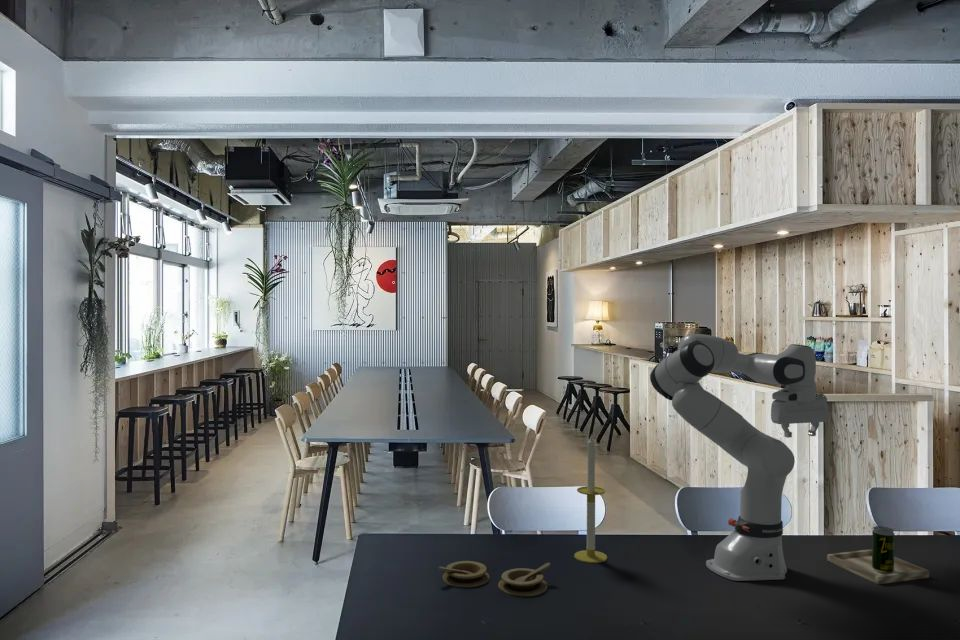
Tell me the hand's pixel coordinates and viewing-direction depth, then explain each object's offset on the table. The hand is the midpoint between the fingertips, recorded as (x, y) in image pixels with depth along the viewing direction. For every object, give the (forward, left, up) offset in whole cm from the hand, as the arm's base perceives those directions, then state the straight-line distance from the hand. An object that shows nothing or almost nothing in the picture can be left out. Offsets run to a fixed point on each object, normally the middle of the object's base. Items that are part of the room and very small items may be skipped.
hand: (800, 436), depth 218 cm
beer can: (+3, -29, -34) cm, 45 cm away
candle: (-72, +5, -34) cm, 80 cm away
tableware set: (-106, -5, -35) cm, 112 cm away
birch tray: (+4, -26, -34) cm, 43 cm away
